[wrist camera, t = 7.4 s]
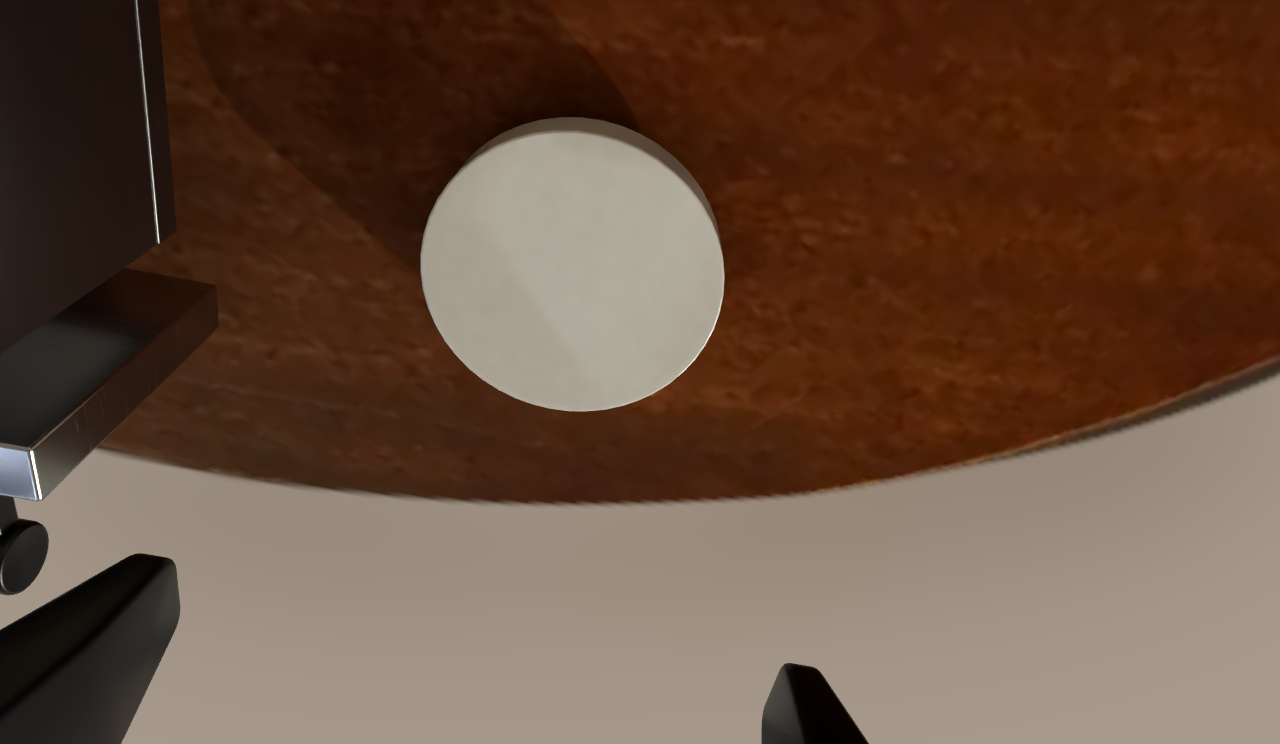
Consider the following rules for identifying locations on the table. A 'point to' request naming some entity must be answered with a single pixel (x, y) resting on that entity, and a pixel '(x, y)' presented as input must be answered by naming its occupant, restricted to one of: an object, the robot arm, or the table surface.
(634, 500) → the table surface
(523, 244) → the cylinder
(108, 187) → the drawer
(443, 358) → the table surface
